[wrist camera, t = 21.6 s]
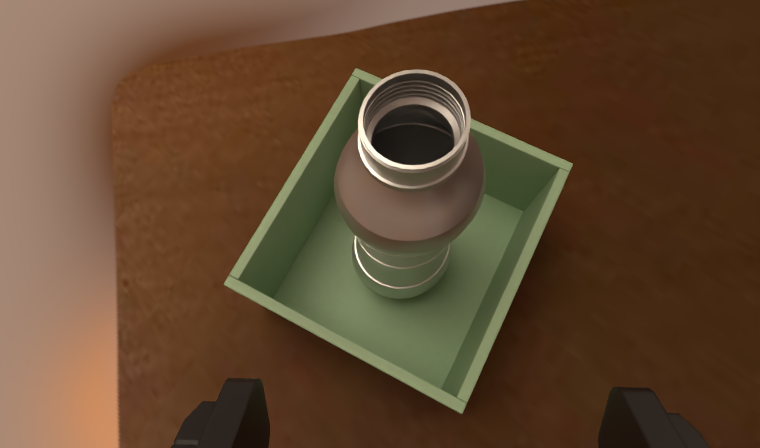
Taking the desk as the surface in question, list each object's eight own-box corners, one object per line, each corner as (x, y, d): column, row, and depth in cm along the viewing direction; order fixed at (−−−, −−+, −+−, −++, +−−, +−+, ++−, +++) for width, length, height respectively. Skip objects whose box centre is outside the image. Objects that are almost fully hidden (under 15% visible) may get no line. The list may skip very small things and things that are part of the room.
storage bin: (363, 132, 38) (356, 67, 30) (531, 210, 36) (573, 163, 28) (262, 305, 35) (222, 284, 26) (443, 403, 32) (462, 414, 24)
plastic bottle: (335, 257, 35) (268, 119, 16) (403, 196, 36) (417, -2, 17) (398, 324, 33) (409, 261, 14) (466, 257, 35) (561, 116, 15)
